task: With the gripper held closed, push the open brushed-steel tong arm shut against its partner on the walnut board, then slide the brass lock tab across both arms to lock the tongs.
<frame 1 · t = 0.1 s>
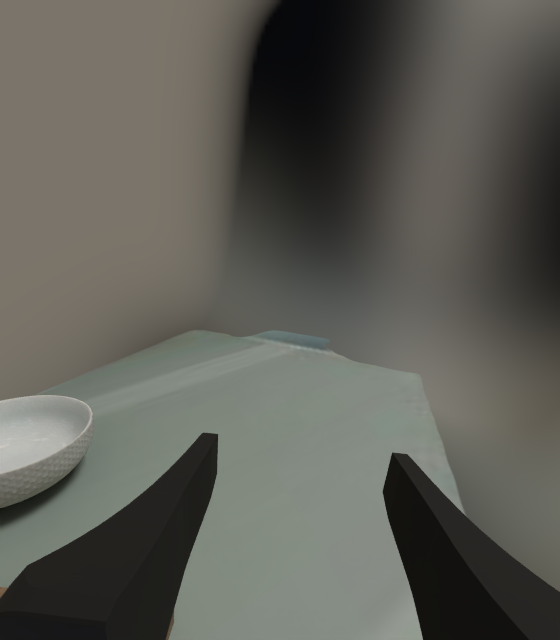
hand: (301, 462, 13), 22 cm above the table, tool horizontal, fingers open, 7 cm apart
cereal bowl: (15, 481, 37), on the table
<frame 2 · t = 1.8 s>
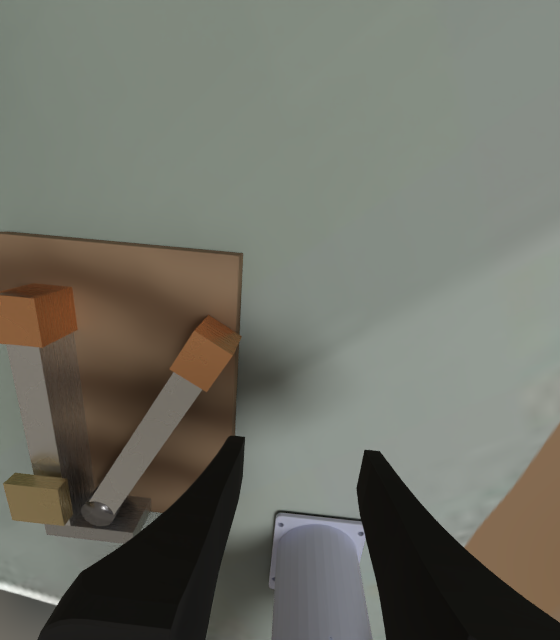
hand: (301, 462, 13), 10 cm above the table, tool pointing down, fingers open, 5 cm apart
board: (134, 386, 24), on the table
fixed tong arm: (83, 392, 25), resting on board
tong arm: (154, 430, 22), point 3 cm above the table, hinge at 30.0°
lock tab: (39, 499, 21), point 5 cm above the table, slide at 0.0 cm
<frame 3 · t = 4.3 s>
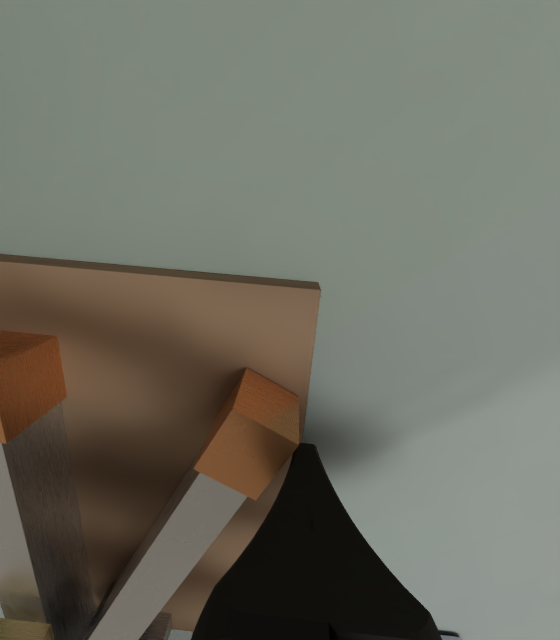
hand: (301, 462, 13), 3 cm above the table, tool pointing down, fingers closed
board: (150, 465, 17), on the table
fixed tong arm: (77, 472, 17), resting on board
tong arm: (173, 540, 14), point 3 cm above the table, hinge at 26.6°, touching gripper
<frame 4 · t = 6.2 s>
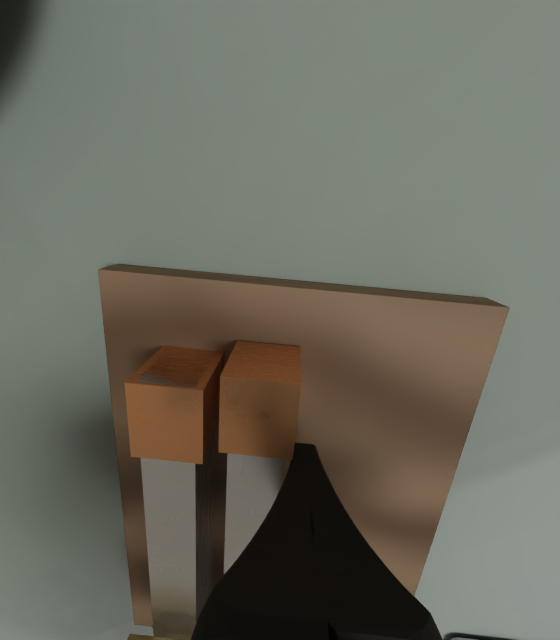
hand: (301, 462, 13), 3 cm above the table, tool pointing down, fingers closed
board: (279, 479, 17), on the table
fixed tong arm: (203, 485, 17), resting on board
tong arm: (252, 536, 14), point 3 cm above the table, hinge at -0.2°, touching gripper
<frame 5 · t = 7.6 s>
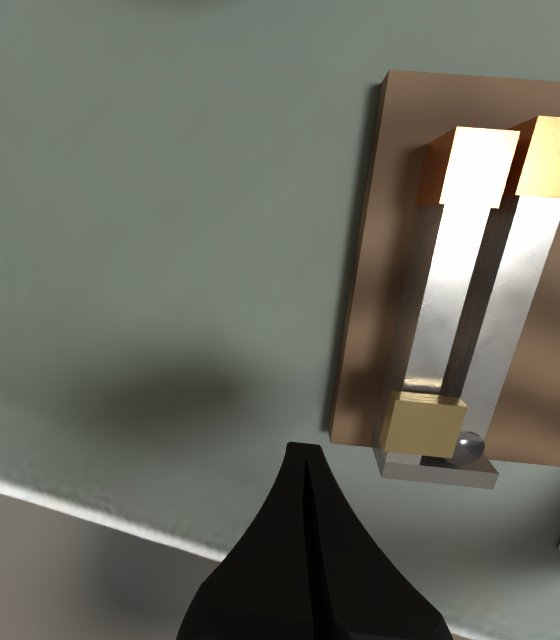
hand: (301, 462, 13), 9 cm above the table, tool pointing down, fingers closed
board: (476, 297, 20), on the table
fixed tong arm: (406, 306, 20), resting on board
tong arm: (487, 315, 17), point 3 cm above the table, hinge at -0.2°
lock tab: (421, 424, 16), point 5 cm above the table, slide at 0.0 cm
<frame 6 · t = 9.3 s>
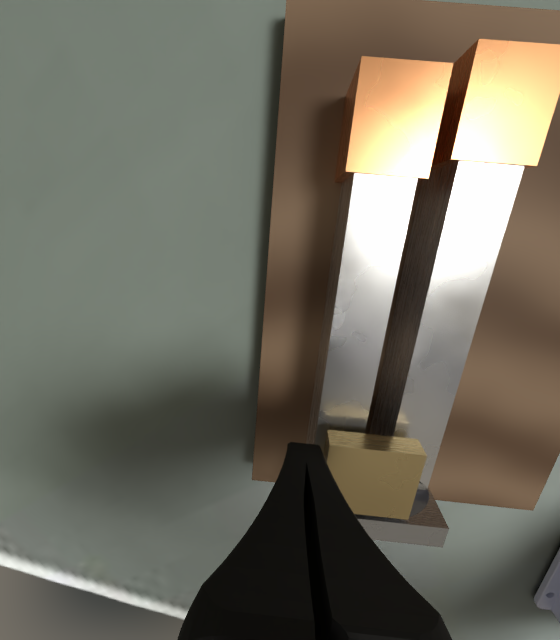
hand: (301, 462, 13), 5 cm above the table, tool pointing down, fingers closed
board: (425, 302, 16), on the table
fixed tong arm: (339, 313, 16), resting on board
tong arm: (428, 326, 13), point 3 cm above the table, hinge at -0.2°
lock tab: (367, 474, 12), point 5 cm above the table, slide at 1.2 cm, touching gripper
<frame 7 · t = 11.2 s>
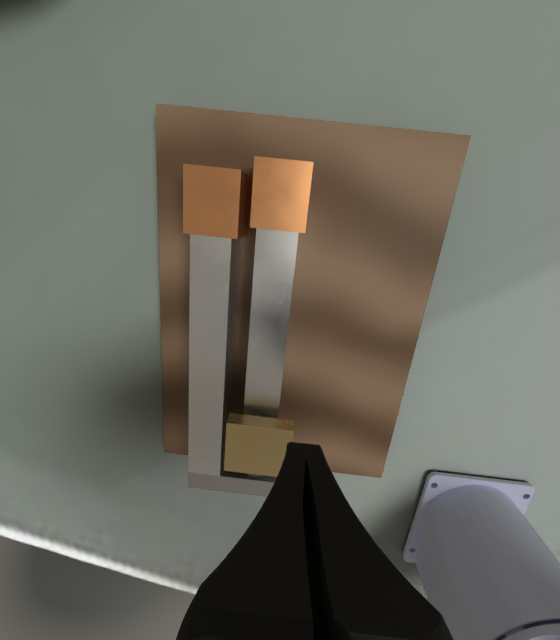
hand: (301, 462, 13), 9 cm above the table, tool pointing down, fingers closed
board: (288, 316, 21), on the table
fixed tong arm: (225, 323, 21), resting on board
tong arm: (269, 335, 18), point 3 cm above the table, hinge at -0.2°
lock tab: (258, 445, 17), point 5 cm above the table, slide at 3.3 cm
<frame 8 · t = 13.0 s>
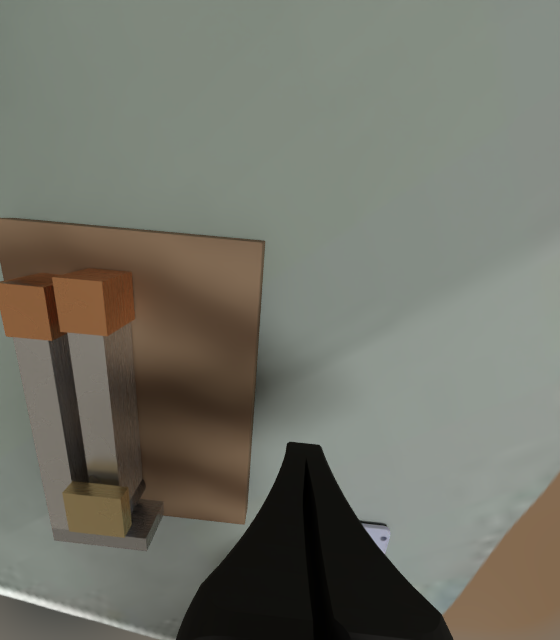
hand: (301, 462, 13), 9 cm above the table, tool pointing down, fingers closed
board: (147, 383, 23), on the table
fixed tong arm: (93, 389, 23), resting on board
tong arm: (109, 410, 20), point 3 cm above the table, hinge at -0.2°
lock tab: (98, 509, 20), point 5 cm above the table, slide at 3.3 cm
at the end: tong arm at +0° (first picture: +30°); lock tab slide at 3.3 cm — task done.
